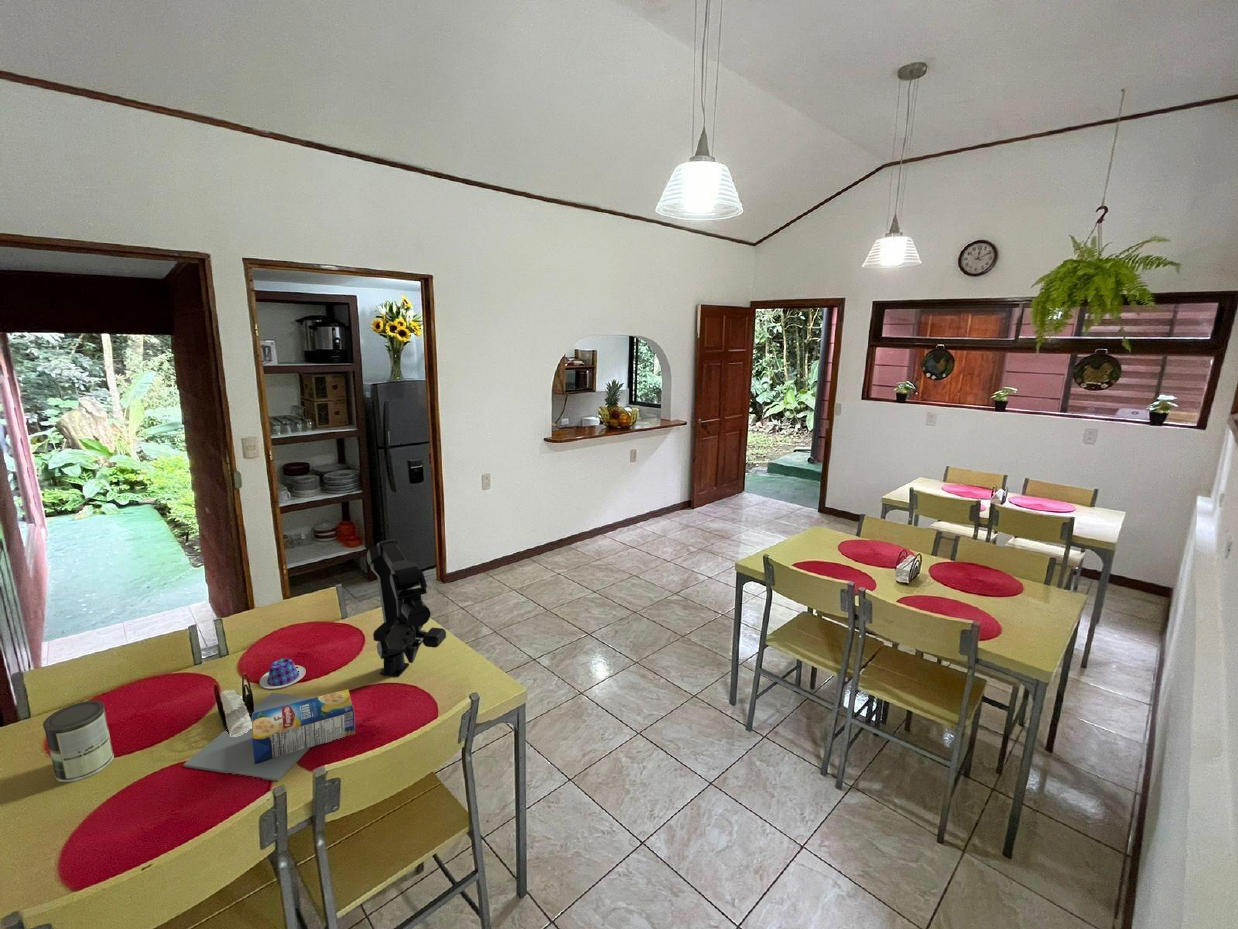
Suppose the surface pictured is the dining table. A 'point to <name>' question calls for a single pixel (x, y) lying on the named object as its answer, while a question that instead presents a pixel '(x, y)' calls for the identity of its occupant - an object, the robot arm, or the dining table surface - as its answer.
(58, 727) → the coffee can
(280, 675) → the pudding
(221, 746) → the mat
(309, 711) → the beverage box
